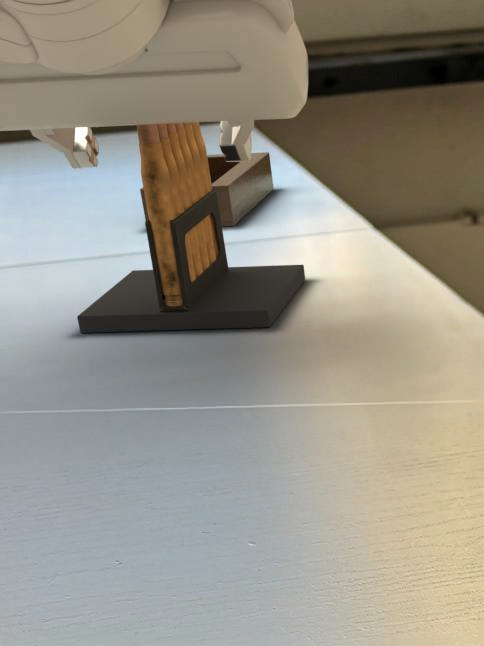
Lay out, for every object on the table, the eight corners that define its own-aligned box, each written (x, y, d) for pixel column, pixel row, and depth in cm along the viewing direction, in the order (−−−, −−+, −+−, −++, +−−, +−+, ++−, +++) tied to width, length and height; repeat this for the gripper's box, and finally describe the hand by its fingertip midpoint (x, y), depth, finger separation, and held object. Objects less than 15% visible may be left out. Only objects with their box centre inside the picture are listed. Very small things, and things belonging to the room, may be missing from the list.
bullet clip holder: (147, 229, 109) (139, 189, 107) (195, 192, 122) (190, 155, 120) (234, 226, 109) (228, 185, 107) (273, 189, 121) (269, 152, 120)
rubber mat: (80, 333, 84) (76, 316, 83) (135, 285, 93) (132, 270, 93) (269, 327, 83) (267, 310, 82) (305, 279, 92) (303, 264, 92)
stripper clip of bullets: (202, 271, 92) (170, 67, 85) (229, 270, 91) (199, 66, 84) (159, 312, 83) (119, 89, 76) (188, 311, 83) (151, 88, 76)
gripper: (282, -96, 67) (335, 100, 81) (-112, -73, 69) (5, 114, 83) (277, 17, 66) (331, 196, 80) (-122, 37, 68) (-3, 209, 82)
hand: (162, 154), depth 81 cm, fingers open, 8 cm apart
